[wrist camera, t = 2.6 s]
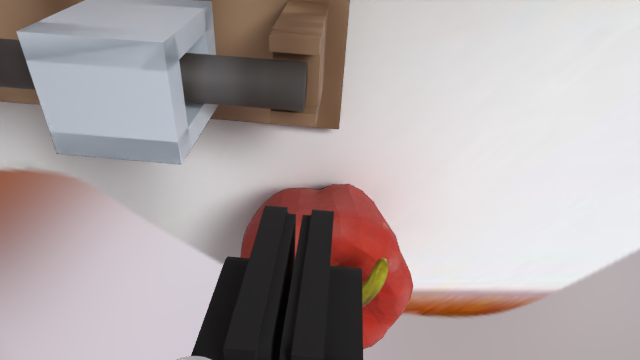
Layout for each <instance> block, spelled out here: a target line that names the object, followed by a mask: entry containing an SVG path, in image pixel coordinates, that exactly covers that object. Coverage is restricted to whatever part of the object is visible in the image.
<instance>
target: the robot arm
mask: <svg viewBox="0 0 640 360" xmlns="http://www.w3.org/2000/svg"><path fill="white" fill-rule="evenodd" d="M333 220H334V211H326V210H314V209H312V212H311V215H303V216H302V221H301V227H300V233H299V239H298V245H297V251H296V257H295V239H296V214H291V213H288V207H279V206H267V205H266V206H265V207H264V210H263V213H262V217H261V220H260V224H259V227H258V230H257V234H256V237H255V241H254V244H253V248H252V251H251V254H250V258H238V257H227V258H226V260H225V262H224V265H223V268H222V271H221V273H220V276H219V279H218V282H217V285H216V287H215V290H214V293H213V296H212V299H211V301H210V304H209V308H208V310H207V313H206V315H205V318H204V321H203V324H202V327H201V330H200V332H199V335H198V338H197V341H196V344H195V347H194V349H193V352H192V355H191V356H189V357H184V358H180V359H177V360H363V311H362V269H361V268H351V267H340V266H330V262H331V248H332V234H333Z"/></svg>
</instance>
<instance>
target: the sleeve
mask: <svg viewBox="0 0 640 360" xmlns="http://www.w3.org/2000/svg"><path fill="white" fill-rule="evenodd" d="M16 32H17V35H18V38H19V41H20V44H21V47H22V50H23V53H24V56H25V59H26V62H27V65H28V68H29V71H30V74H31V77H32V80H33V83H34V86H35V89H36V92H37V95H38V98H39V101H40V104H41V107H42V110H43V113H44V116H45V119H46V122H47V125H48V128H49V131H50V134H51V137H52V140H53V143H54V146H55V149H56V152H57V154H64V155H76V156H87V157H99V158H110V159H122V160H134V161H145V162H157V163H168V164H180V165H181V164H182V163H183V161H184V159H185V158H186V156H187V155H188V153H189V151H190V150H191V148H192V147H193V145H194V143H195V142H196V140H197V139H198V137H199V135H200V134H201V132H202V131H203V129H204V127H205V126H206V124H207V122H208V121H209V119H210V118H211V116H212V114H213V113H214V111H215V110H216V108H217V106H218V105H216V104H204V103H192V102H185V101H184V93H183V85H182V78H181V70H180V63H179V59H180V58H181V57H182V56H183V55H184V54H185V53H196V54H209V55H216V48H215V36H214V24H213V12H212V1H198V0H84V1H82V2H80V3H78V4H76V5H73V6H71V7H69V8H67V9H65V10H62V11H60V12H58V13H56V14H54V15H51V16H49V17H47V18H45V19H43V20H40V21H38V22H36V23H34V24H32V25H29V26H27V27H25V28H23V29H21V30H18V31H16Z"/></svg>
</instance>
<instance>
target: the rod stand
mask: <svg viewBox="0 0 640 360" xmlns="http://www.w3.org/2000/svg"><path fill="white" fill-rule="evenodd" d="M82 1H84V0H0V101H2V102H14V103H26V104H39V105H41V104H40V101H39V98H38V95H37V92H36V89H35V86H34V83H33V80H32V77H31V74H30V71H29V68H28V65H27V62H26V59H25V56H24V53H23V50H22V47H21V44H20V41H19V38H18V35H17V32H16V31H18V30H21V29H23V28H25V27H27V26H29V25H32V24H34V23H36V22H38V21H40V20H43V19H45V18H47V17H49V16H51V15H54V14H56V13H58V12H60V11H62V10H65V9H67V8H69V7H71V6H73V5H76V4H78V3H80V2H82ZM198 1H212V12H213V24H214V36H215V48H216V55H209V54H196V53H185V54H184V55H183V56H182V57H181V58H180V59H179V63H180V70H181V78H182V85H183V93H184V101H185V102H192V103H204V104H216V105H218V106H217V108H216V110H215V111H214V113H213V114H212V116H211V118H210V119H221V120H233V121H245V122H257V123H270V124H282V125H294V126H306V127H318V128H330V129H339V121H340V110H341V98H342V86H343V74H344V62H345V50H346V38H347V26H348V15H349V3H350V0H198Z"/></svg>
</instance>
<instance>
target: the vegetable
mask: <svg viewBox="0 0 640 360" xmlns="http://www.w3.org/2000/svg"><path fill="white" fill-rule="evenodd" d="M266 205H267V206H279V207H288V213H291V214H296V239H295V257H296V251H297V245H298V239H299V233H300V227H301V221H302V216H303V215H311V212H312V209H314V210H326V211H334V220H333V234H332V248H331V262H330V266H340V267H351V268H361V269H362V311H363V349H365V348H368V347H371V346H373V345H374V344H375V343H377V342H378V341H379V340H380V339H382V338H383V336H384V335H385V333H386V332H387V330H388V329H389V328H390V327H391V326H392V325H393V324H394V323H395V321H396V320H397V319H398V318H399V316H400V315H401V314H402V313H403V312H404V310H405V308H406V306H407V305H408V303H409V301H410V298H411V294H412V289H413V283H412V278H411V274H410V271H409V269H408V267H407V265H406V262H405V260H404V258H403V256H402V254H401V252H400V249H399V246H398V242H397V239H396V236H395V234H394V233H393V231H392V230H391V228H390V227H389V225H388V224H387V222H386V221H385V219H384V218H383V216H382V215H381V213H380V212H379V210H378V208H377V207H376V205H375V203H374V202H373V201H372V200H371V199H370V198H369V197H368V196H367V195H366V194H365V193H364V192H363V191H362V190H360V189H358V188H356V187H354V186H352V185H350V184H333V185H331V186H328V187H326V188H324V189H321V190H314V189H308V188H288V189H285V190H283V191H281V192H279V193H277V194H275V195H273V196H272V197H271V198H270V199H268V200H267V201H266V202H265V203H264V204H263V205H262V206H261V207H260V209H259V210H258V211H257V212H256V214H255V215H254V216H253V218H252V220H251V221H250V223H249V225H248V227H247V229H246V231H245V234H244V238H243V242H242V249H241V258H250V254H251V251H252V248H253V244H254V241H255V237H256V234H257V230H258V227H259V224H260V220H261V217H262V213H263V210H264V207H265V206H266Z"/></svg>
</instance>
